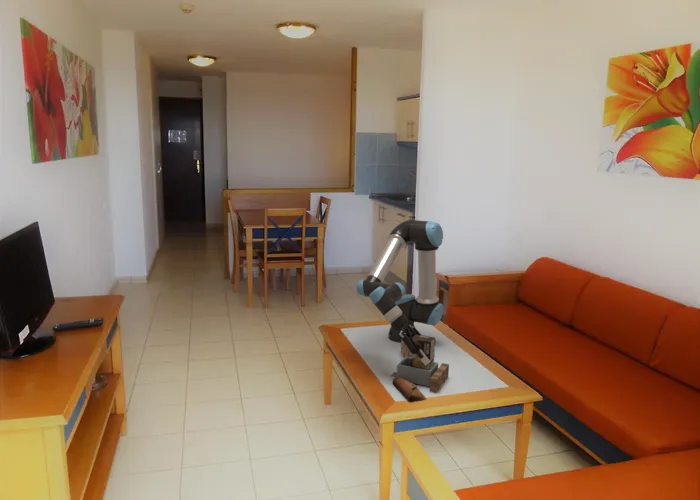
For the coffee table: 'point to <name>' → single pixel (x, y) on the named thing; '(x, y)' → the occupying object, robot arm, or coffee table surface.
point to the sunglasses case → (408, 389)
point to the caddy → (415, 372)
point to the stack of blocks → (405, 350)
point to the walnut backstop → (439, 377)
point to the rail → (394, 374)
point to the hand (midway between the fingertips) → (430, 360)
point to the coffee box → (427, 348)
